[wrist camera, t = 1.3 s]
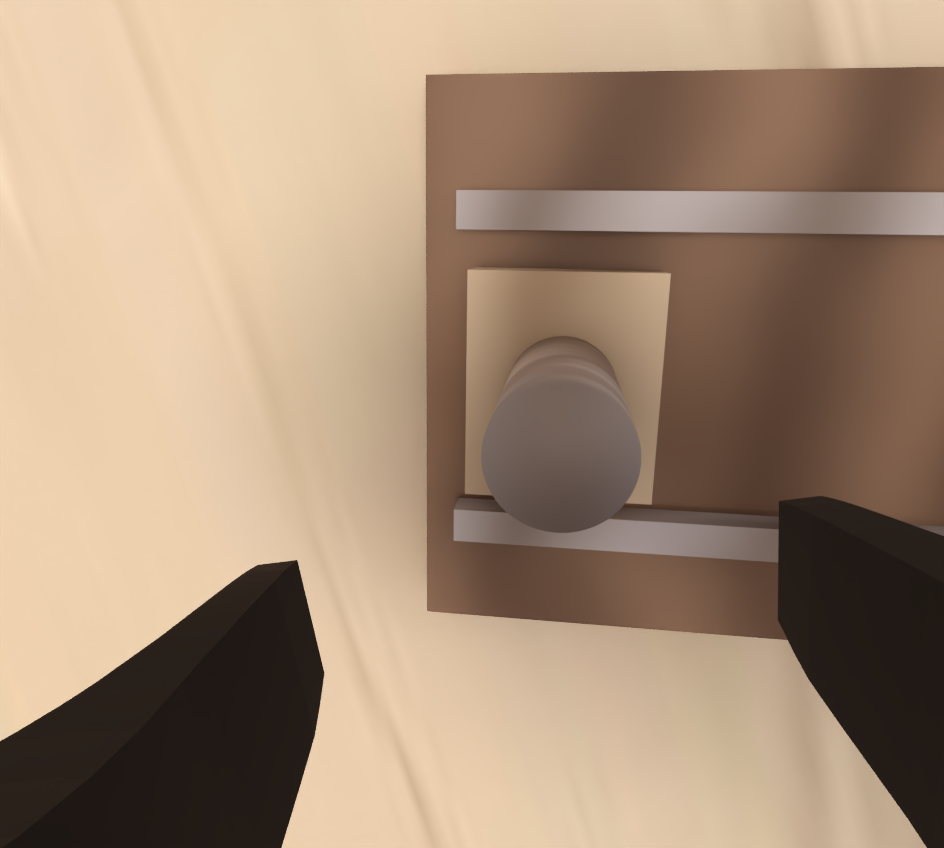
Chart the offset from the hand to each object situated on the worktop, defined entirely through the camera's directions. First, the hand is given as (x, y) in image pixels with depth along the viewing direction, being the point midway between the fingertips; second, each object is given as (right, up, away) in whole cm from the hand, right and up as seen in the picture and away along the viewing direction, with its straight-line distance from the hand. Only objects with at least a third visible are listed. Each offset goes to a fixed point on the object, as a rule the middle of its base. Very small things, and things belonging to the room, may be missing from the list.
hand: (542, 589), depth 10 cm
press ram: (+2, +4, +10) cm, 10 cm away
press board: (+9, +4, +10) cm, 14 cm away
